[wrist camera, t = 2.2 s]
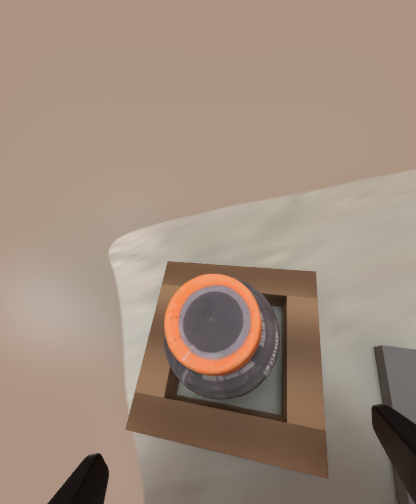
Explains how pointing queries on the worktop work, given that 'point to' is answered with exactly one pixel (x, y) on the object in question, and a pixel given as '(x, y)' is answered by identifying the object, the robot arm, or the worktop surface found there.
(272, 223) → the worktop surface
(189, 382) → the pill bottle
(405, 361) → the rubber mat
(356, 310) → the worktop surface
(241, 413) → the bottle holder
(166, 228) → the worktop surface
